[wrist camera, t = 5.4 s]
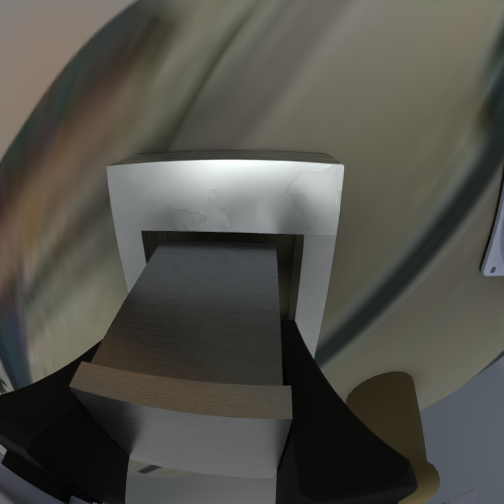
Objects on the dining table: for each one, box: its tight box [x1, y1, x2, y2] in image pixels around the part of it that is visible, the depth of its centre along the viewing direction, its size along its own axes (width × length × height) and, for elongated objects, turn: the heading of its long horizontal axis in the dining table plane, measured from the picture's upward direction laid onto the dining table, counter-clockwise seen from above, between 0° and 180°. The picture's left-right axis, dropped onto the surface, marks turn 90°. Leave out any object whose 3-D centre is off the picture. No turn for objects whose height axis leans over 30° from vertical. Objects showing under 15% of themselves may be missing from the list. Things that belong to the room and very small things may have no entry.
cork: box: [346, 372, 440, 504], centre depth 15 cm, size 6×6×11 cm
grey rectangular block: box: [69, 240, 293, 478], centre depth 9 cm, size 5×5×7 cm
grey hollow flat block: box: [106, 150, 344, 359], centre depth 16 cm, size 9×22×3 cm, turn 179°
